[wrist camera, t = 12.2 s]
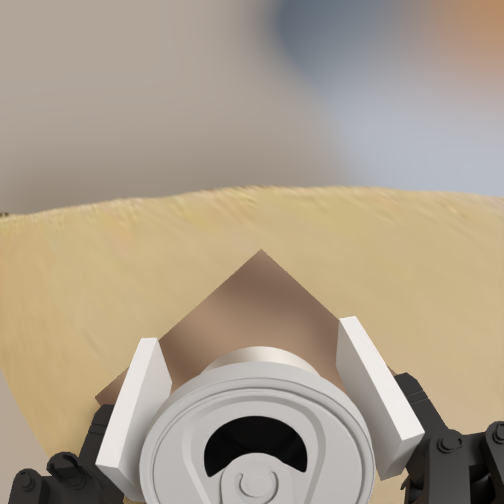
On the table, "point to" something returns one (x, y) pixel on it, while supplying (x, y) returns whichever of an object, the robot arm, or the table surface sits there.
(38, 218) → the table surface
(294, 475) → the beverage can
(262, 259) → the pedestal
